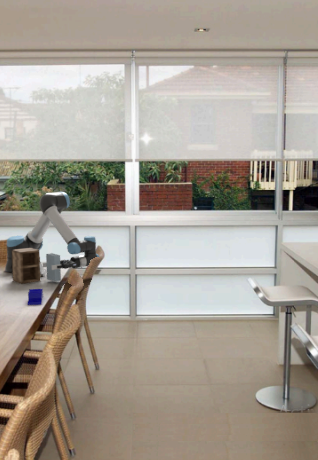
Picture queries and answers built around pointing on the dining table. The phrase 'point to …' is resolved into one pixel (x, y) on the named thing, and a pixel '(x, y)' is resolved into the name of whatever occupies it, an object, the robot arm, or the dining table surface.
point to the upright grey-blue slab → (51, 260)
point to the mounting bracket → (35, 296)
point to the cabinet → (26, 265)
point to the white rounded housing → (42, 270)
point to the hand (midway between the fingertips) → (47, 266)
